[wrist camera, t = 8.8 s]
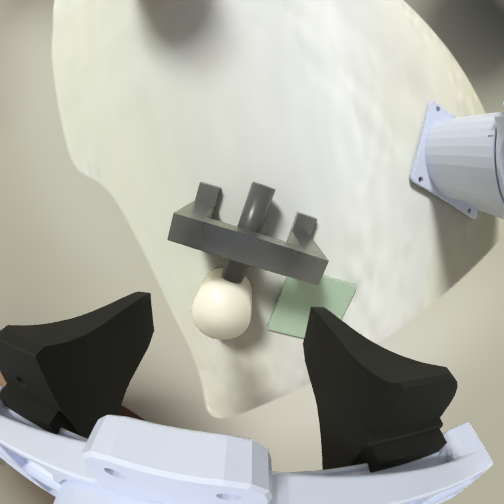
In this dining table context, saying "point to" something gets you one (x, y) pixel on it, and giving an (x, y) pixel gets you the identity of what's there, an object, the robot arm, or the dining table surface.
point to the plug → (231, 280)
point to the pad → (308, 303)
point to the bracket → (248, 240)
